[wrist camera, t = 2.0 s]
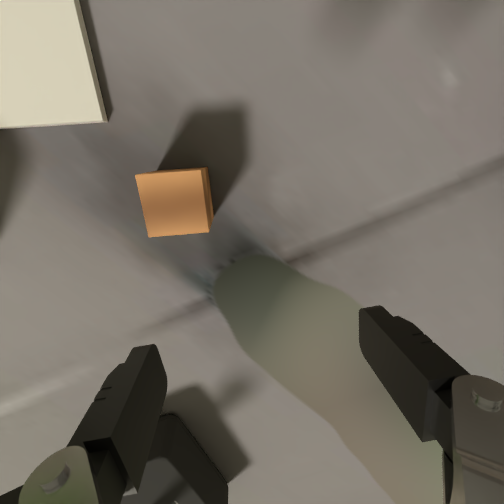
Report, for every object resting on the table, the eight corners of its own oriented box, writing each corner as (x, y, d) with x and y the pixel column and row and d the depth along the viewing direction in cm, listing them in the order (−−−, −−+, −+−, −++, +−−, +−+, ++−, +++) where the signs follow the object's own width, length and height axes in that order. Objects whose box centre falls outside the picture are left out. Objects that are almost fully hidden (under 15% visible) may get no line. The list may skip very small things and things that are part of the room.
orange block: (156, 170, 25) (135, 174, 20) (207, 166, 26) (200, 169, 20) (166, 220, 27) (148, 237, 22) (213, 216, 27) (208, 232, 22)
